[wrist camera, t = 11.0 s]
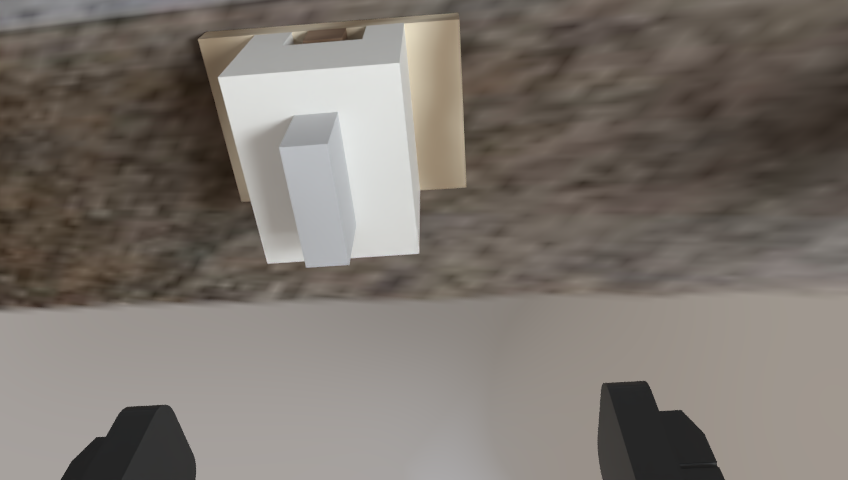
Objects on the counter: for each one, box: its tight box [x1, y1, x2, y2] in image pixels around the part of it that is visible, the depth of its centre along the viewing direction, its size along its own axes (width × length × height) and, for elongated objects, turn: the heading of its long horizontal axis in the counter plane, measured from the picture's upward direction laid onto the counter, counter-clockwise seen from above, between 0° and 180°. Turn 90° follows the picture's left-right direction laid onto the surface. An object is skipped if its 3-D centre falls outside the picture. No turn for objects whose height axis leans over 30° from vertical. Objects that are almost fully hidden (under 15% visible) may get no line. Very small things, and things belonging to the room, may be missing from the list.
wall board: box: [198, 13, 466, 202], centre depth 35 cm, size 14×10×4 cm
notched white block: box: [218, 23, 420, 268], centre depth 31 cm, size 8×10×10 cm
